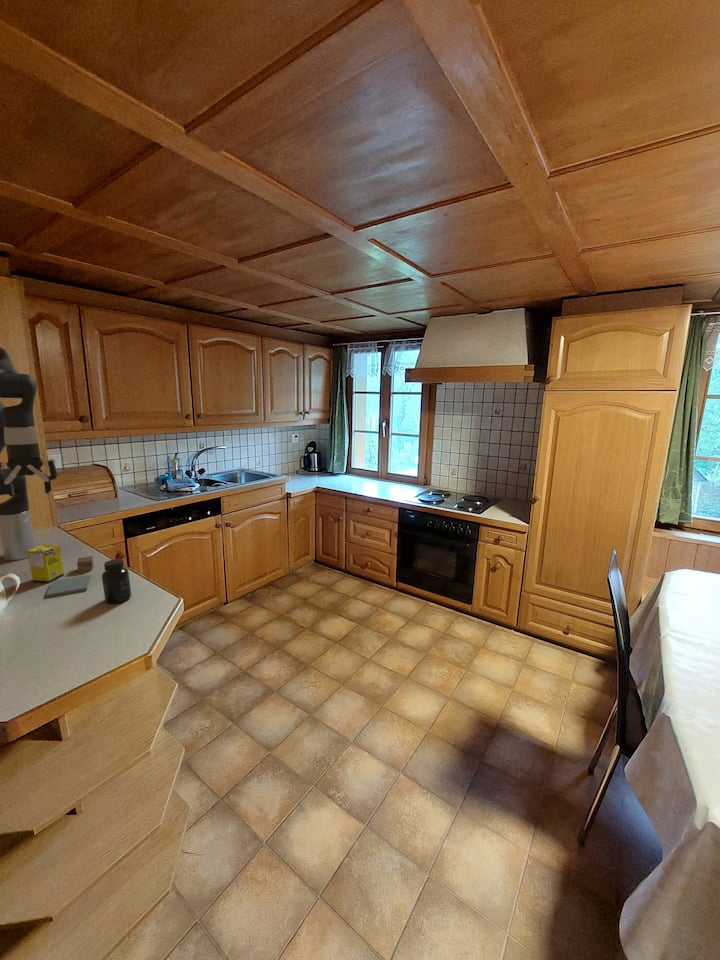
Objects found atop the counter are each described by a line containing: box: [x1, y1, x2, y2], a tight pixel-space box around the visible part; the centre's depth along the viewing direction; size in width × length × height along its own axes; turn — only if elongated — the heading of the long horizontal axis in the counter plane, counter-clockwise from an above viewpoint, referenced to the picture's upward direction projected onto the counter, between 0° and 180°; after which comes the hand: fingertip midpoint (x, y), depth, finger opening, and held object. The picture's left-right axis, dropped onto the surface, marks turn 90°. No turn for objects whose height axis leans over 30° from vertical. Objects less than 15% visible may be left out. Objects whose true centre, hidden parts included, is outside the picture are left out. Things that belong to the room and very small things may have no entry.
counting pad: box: [45, 574, 91, 598], centre depth 124 cm, size 10×10×1 cm
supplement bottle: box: [101, 558, 132, 605], centre depth 117 cm, size 7×7×12 cm
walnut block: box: [76, 555, 94, 573], centre depth 136 cm, size 4×4×4 cm
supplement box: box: [28, 543, 65, 584], centre depth 128 cm, size 6×6×11 cm
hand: (30, 494), depth 120 cm, fingers open, 8 cm apart
